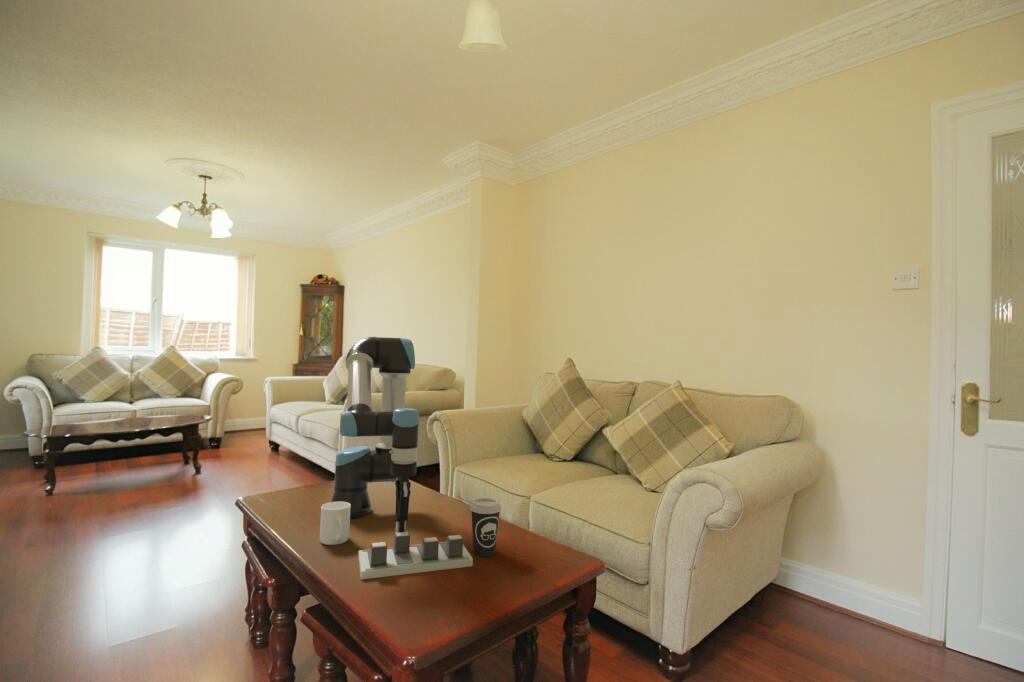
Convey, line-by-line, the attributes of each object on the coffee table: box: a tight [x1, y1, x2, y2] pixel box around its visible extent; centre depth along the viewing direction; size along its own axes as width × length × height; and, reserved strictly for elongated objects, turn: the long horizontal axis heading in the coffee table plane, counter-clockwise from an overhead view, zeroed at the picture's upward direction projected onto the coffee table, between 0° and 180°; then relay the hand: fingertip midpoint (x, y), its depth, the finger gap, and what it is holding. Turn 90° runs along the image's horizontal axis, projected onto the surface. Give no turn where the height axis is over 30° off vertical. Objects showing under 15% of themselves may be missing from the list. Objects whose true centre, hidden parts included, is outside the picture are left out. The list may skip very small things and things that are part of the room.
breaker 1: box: [370, 541, 388, 565], centre depth 129 cm, size 3×4×5 cm
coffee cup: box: [469, 497, 502, 557], centre depth 144 cm, size 10×10×15 cm
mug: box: [319, 501, 351, 546], centre depth 147 cm, size 9×12×11 cm
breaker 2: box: [393, 531, 411, 553], centre depth 137 cm, size 3×4×5 cm
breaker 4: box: [446, 534, 464, 557], centre depth 136 cm, size 3×4×5 cm
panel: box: [357, 540, 474, 580], centre depth 135 cm, size 14×30×2 cm, turn 111°
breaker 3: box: [421, 536, 440, 559], centre depth 133 cm, size 3×4×5 cm
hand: (400, 542), depth 140 cm, fingers closed
